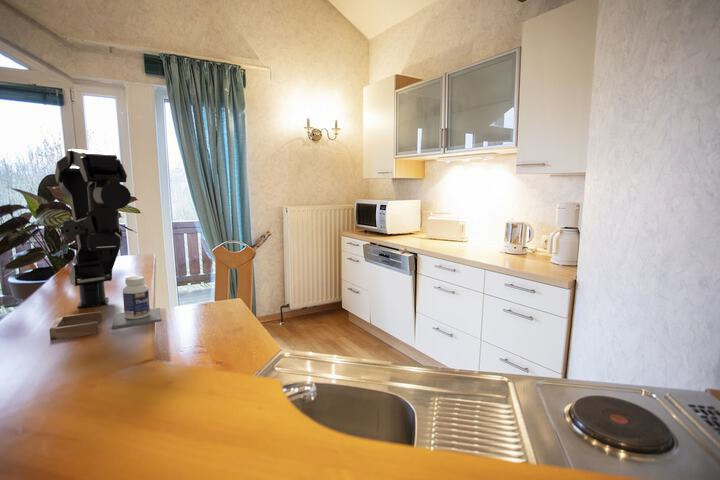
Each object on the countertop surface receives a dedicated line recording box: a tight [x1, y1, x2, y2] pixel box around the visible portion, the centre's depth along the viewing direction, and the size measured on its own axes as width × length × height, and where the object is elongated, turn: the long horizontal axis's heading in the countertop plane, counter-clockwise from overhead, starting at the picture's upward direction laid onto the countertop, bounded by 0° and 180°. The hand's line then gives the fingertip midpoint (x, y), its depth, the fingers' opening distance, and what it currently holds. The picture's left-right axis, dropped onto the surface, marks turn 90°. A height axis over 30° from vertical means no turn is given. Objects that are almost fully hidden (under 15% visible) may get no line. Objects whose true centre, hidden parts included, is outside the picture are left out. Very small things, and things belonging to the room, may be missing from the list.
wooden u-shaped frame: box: [48, 310, 103, 342], centre depth 83 cm, size 9×8×2 cm
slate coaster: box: [111, 307, 162, 330], centre depth 91 cm, size 10×10×1 cm
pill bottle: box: [122, 275, 151, 319], centre depth 90 cm, size 5×5×10 cm
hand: (108, 270), depth 89 cm, fingers open, 9 cm apart
